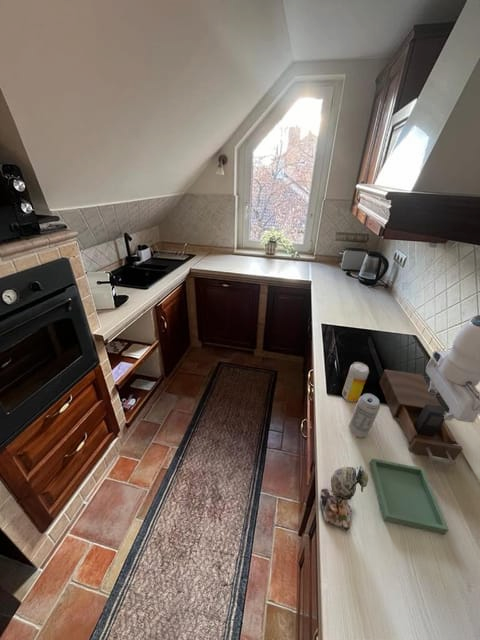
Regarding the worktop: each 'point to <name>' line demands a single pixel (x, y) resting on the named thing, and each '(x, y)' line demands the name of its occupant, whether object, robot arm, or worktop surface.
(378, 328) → the worktop surface
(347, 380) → the beer can
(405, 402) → the cabinet
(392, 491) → the tray
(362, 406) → the energy drink can
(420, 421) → the dark grey block
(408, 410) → the drawer
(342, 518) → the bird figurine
